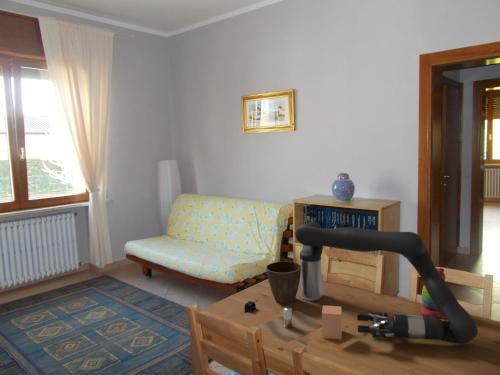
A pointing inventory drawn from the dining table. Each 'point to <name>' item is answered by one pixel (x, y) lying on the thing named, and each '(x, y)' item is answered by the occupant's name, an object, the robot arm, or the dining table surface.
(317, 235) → the robot arm
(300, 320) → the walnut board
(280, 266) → the plant pot
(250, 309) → the black faceted lump
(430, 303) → the stacking bear
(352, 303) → the dining table surface
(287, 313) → the steel post
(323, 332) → the pink rectangular block
